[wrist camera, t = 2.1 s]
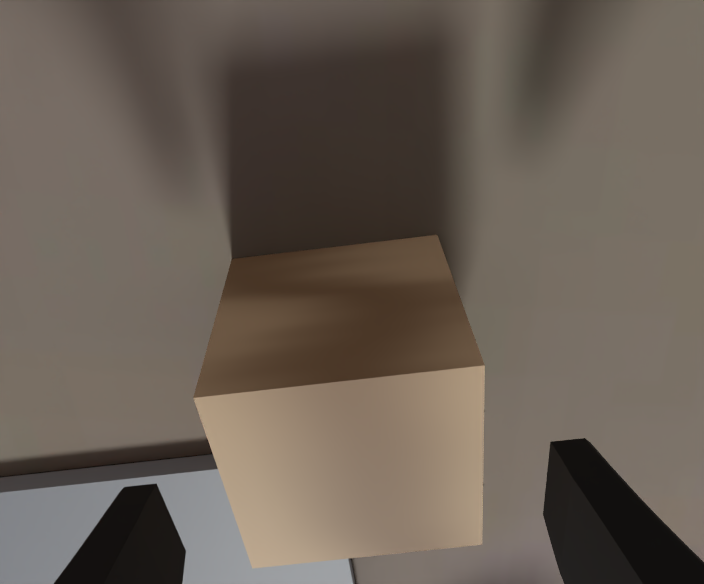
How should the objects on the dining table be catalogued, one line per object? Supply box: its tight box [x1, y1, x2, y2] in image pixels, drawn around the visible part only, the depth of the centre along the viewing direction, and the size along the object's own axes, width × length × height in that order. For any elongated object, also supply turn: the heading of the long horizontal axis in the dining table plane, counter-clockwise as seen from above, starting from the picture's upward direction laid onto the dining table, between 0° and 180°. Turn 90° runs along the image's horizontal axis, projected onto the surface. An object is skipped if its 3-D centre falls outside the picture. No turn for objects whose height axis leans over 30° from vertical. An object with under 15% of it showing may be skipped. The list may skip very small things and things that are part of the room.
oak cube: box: [194, 235, 485, 569], centre depth 13 cm, size 5×5×5 cm
